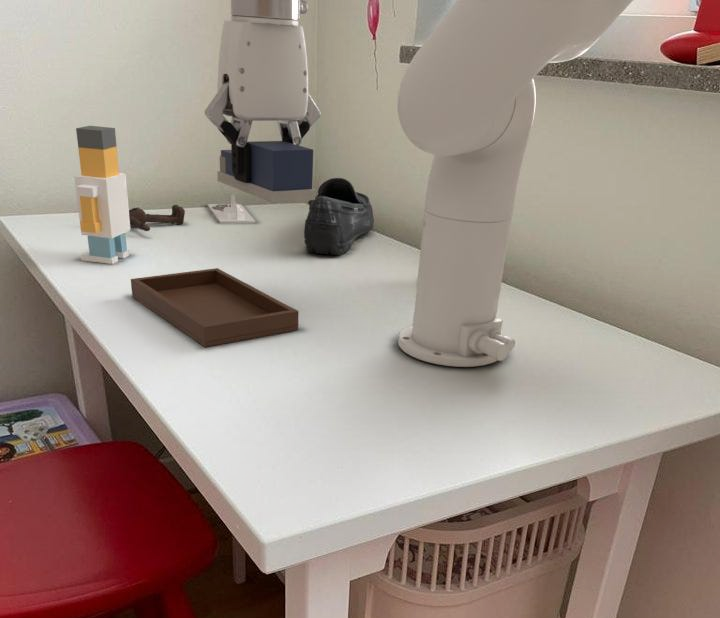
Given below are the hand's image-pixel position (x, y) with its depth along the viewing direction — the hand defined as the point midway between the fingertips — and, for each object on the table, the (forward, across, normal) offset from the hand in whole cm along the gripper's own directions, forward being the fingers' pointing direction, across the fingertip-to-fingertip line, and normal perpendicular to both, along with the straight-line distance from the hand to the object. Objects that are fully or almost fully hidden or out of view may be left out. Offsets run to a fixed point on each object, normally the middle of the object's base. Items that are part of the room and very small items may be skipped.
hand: (264, 178), depth 95 cm
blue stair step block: (+1, 0, 0) cm, 1 cm away
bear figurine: (+16, -1, -46) cm, 48 cm away
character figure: (+16, +11, -28) cm, 34 cm away
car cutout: (+16, -20, -49) cm, 56 cm away
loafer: (+16, -30, -26) cm, 42 cm away
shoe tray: (+16, +8, +2) cm, 18 cm away
